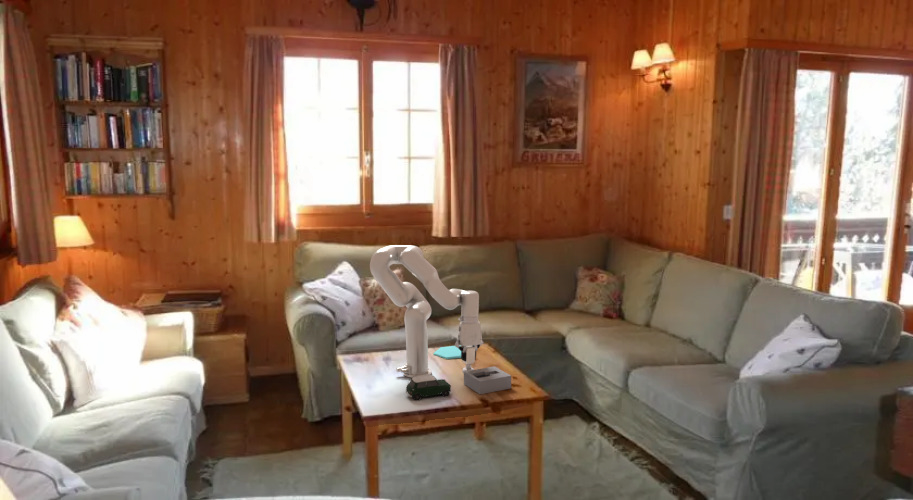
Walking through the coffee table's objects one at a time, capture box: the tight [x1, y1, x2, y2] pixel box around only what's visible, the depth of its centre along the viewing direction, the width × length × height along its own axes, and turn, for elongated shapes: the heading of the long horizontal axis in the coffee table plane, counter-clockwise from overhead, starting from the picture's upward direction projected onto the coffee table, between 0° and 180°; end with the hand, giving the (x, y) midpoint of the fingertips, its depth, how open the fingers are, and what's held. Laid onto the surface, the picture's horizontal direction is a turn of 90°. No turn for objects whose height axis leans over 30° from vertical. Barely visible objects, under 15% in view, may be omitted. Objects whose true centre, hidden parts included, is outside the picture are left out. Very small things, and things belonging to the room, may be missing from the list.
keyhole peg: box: [461, 346, 476, 374], centre depth 296 cm, size 5×5×12 cm
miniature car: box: [405, 374, 452, 402], centre depth 275 cm, size 9×18×8 cm, turn 110°
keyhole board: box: [463, 365, 512, 395], centre depth 284 cm, size 15×14×6 cm
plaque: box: [433, 344, 461, 360], centre depth 332 cm, size 18×2×20 cm
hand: (468, 359), depth 296 cm, fingers closed on keyhole peg, 4 cm apart
